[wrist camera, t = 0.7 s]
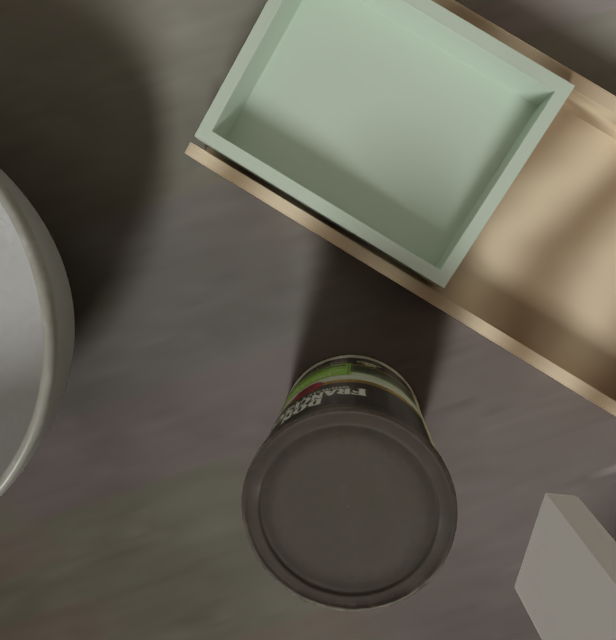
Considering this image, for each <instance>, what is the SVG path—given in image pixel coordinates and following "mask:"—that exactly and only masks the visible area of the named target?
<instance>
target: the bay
mask: <svg viewBox="0 0 616 640" xmlns="http://www.w3.org/2000/svg"><path fill="white" fill-rule="evenodd" d="M432 1H433V2H435V3H437V4H438V5H440V6H442V7H443V8H445V9H447V10H448V11H450V12H452V13H454V14H455V15H457V16H459V17H460V18H462V19H464V20H465V21H467V22H469V23H470V24H472V25H474V26H475V27H477V28H479V29H480V30H482V31H484V32H485V33H487V34H489V35H490V36H492V37H494V38H495V39H497V40H499V41H501V42H502V43H504V44H506V45H507V46H509V47H511V48H512V49H514V50H516V51H517V52H519V53H521V54H522V55H524V56H526V57H527V58H529V59H531V60H532V61H534V62H536V63H537V64H539V65H541V66H543V67H544V68H546V69H548V70H549V71H551V72H553V73H554V74H556V75H558V76H559V77H561V78H563V79H564V80H566V81H568V82H569V83H571V84H573V85H574V86H575V87H574V88H573V90H572V92H571V93H570V95H569V96H568V98H567V99H566V101H565V102H564V104H563V105H562V107H561V109H560V110H559V112H558V113H557V115H556V116H555V118H554V119H553V121H552V122H551V124H550V125H549V127H548V129H547V130H546V132H545V133H544V135H543V136H542V138H541V139H540V141H539V142H538V144H537V146H536V147H535V149H534V150H533V152H532V153H531V155H530V156H529V158H528V159H527V161H526V163H525V164H524V166H523V167H522V169H521V170H520V172H519V173H518V175H517V176H516V178H515V180H514V181H513V183H512V184H511V186H510V187H509V189H508V190H507V192H506V193H505V195H504V197H503V198H502V200H501V201H500V203H499V204H498V206H497V207H496V209H495V210H494V212H493V214H492V215H491V217H490V218H489V220H488V221H487V223H486V224H485V226H484V227H483V229H482V231H481V232H480V234H479V235H478V237H477V238H476V240H475V241H474V243H473V244H472V246H471V248H470V249H469V251H468V252H467V254H466V255H465V257H464V258H463V260H462V261H461V263H460V264H459V266H458V268H457V269H456V271H455V272H454V274H453V275H452V277H451V278H450V280H449V281H448V283H447V285H446V286H445V288H442V287H438V286H435V285H433V284H432V283H430V282H428V281H427V280H425V279H423V278H422V277H420V276H418V275H417V274H415V273H414V272H412V271H410V270H409V269H407V268H405V267H404V266H402V265H400V264H399V263H397V262H395V261H394V260H392V259H391V258H389V257H387V256H386V255H384V254H382V253H381V252H379V251H377V250H376V249H374V248H373V247H371V246H369V245H368V244H366V243H364V242H363V241H361V240H359V239H358V238H356V237H354V236H353V235H351V234H350V233H348V232H346V231H345V230H343V229H341V228H340V227H338V226H336V225H335V224H333V223H331V222H330V221H328V220H327V219H325V218H323V217H322V216H320V215H318V214H317V213H315V212H313V211H312V210H310V209H309V208H307V207H305V206H304V205H302V204H300V203H299V202H297V201H295V200H294V199H292V198H290V197H289V196H287V195H286V194H284V193H282V192H281V191H279V190H277V189H276V188H274V187H272V186H271V185H269V184H268V183H266V182H264V181H263V180H261V179H259V178H258V177H256V176H254V175H253V174H251V173H249V172H248V171H246V170H245V169H243V168H241V167H240V166H238V165H236V164H235V163H233V162H231V161H230V160H228V159H227V158H225V157H223V156H222V155H220V154H218V153H217V152H215V151H213V150H212V149H211V148H209V147H208V146H207V147H206V149H205V151H204V150H203V149H201V148H200V147H198V146H196V145H195V144H193V143H191V142H190V144H189V146H188V148H187V149H186V151H185V154H187V155H188V156H190V157H191V158H193V159H195V160H196V161H198V162H199V163H201V164H203V165H204V166H206V167H207V168H209V169H211V170H212V171H214V172H216V173H217V174H219V175H221V176H222V177H224V178H225V179H227V180H229V181H230V182H232V183H234V184H235V185H237V186H239V187H240V188H242V189H244V190H245V191H247V192H248V193H250V194H252V195H253V196H255V197H257V198H258V199H260V200H262V201H263V202H265V203H266V204H268V205H270V206H271V207H273V208H275V209H276V210H278V211H280V212H281V213H283V214H284V215H286V216H288V217H289V218H291V219H293V220H294V221H296V222H298V223H299V224H301V225H302V226H304V227H306V228H307V229H309V230H311V231H312V232H314V233H316V234H317V235H319V236H320V237H322V238H324V239H325V240H327V241H329V242H330V243H332V244H334V245H335V246H337V247H338V248H340V249H342V250H343V251H345V252H347V253H348V254H350V255H352V256H353V257H355V258H357V259H358V260H360V261H361V262H363V263H365V264H366V265H368V266H370V267H371V268H373V269H375V270H376V271H378V272H379V273H381V274H383V275H384V276H386V277H388V278H389V279H391V280H393V281H394V282H396V283H397V284H399V285H401V286H402V287H404V288H406V289H407V290H409V291H411V292H412V293H414V294H415V295H417V296H419V297H420V298H422V299H424V300H425V301H427V302H429V303H430V304H432V305H433V306H435V307H437V308H438V309H440V310H442V311H443V312H445V313H447V314H448V315H450V316H451V317H453V318H455V319H456V320H458V321H460V322H461V323H463V324H465V325H466V326H468V327H470V328H471V329H473V330H474V331H476V332H478V333H479V334H481V335H483V336H484V337H486V338H488V339H489V340H491V341H492V342H494V343H496V344H497V345H499V346H501V347H502V348H504V349H506V350H507V351H509V352H510V353H512V354H514V355H515V356H517V357H519V358H520V359H522V360H524V361H525V362H527V363H528V364H530V365H532V366H533V367H535V368H537V369H538V370H540V371H542V372H543V373H545V374H546V375H548V376H550V377H551V378H553V379H555V380H556V381H558V382H560V383H561V384H563V385H564V386H566V387H568V388H569V389H571V390H573V391H574V392H576V393H578V394H579V395H581V396H583V397H584V398H586V399H587V400H589V401H591V402H592V403H594V404H596V405H597V406H599V407H601V408H602V409H604V410H605V411H607V412H609V413H610V414H612V415H614V416H615V417H616V96H614V95H613V94H611V93H609V92H608V91H606V90H604V89H603V88H601V87H599V86H598V85H596V84H594V83H593V82H591V81H589V80H588V79H586V78H584V77H582V76H581V75H579V74H577V73H576V72H574V71H572V70H571V69H569V68H567V67H566V66H564V65H562V64H561V63H559V62H557V61H556V60H554V59H552V58H551V57H549V56H547V55H545V54H544V53H542V52H540V51H539V50H537V49H535V48H534V47H532V46H530V45H529V44H527V43H525V42H524V41H522V40H520V39H519V38H517V37H515V36H514V35H512V34H510V33H509V32H507V31H505V30H503V29H502V28H500V27H498V26H497V25H495V24H493V23H492V22H490V21H488V20H487V19H485V18H483V17H482V16H480V15H478V14H477V13H475V12H473V11H472V10H470V9H468V8H466V7H465V6H463V5H461V4H460V3H458V2H456V1H455V0H432Z"/></svg>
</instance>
